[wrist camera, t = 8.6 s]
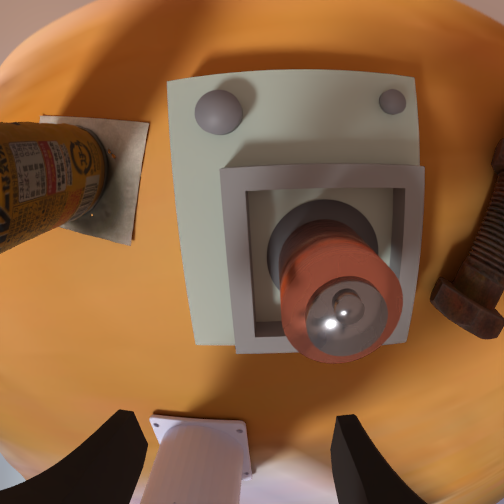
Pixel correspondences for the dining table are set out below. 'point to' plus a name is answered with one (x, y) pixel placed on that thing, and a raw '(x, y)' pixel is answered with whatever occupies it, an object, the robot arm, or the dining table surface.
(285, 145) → the button control panel
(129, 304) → the dining table surface
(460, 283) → the bolt
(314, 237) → the orange short cylinder
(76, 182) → the yellow metal cylinder
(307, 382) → the dining table surface
